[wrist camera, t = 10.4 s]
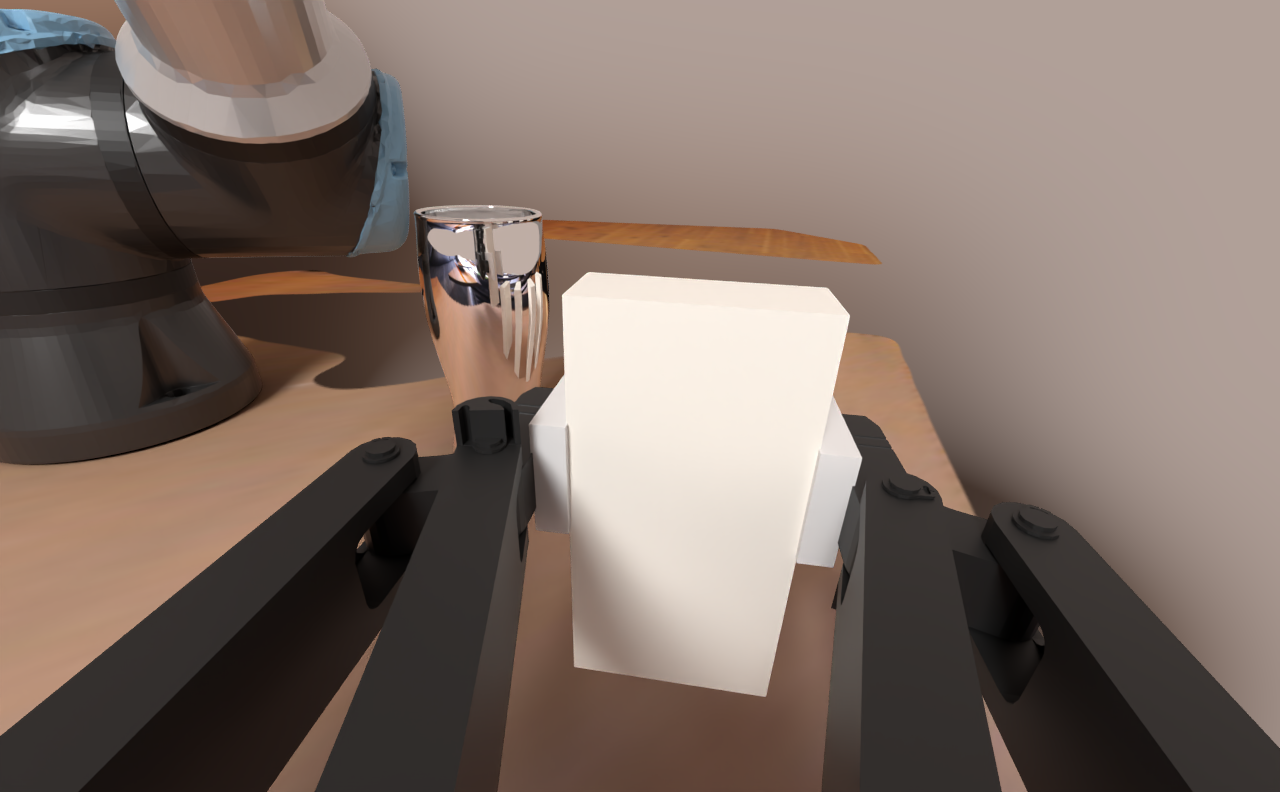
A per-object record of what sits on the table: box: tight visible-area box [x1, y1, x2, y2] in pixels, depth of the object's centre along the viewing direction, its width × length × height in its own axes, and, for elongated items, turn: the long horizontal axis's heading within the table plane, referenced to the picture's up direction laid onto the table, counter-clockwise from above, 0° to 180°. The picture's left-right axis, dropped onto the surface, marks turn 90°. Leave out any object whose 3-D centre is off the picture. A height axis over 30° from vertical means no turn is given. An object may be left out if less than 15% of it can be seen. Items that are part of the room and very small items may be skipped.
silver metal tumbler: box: [414, 205, 549, 453], centre depth 30 cm, size 7×7×15 cm
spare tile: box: [562, 272, 850, 697], centre depth 12 cm, size 2×5×10 cm, turn 82°
